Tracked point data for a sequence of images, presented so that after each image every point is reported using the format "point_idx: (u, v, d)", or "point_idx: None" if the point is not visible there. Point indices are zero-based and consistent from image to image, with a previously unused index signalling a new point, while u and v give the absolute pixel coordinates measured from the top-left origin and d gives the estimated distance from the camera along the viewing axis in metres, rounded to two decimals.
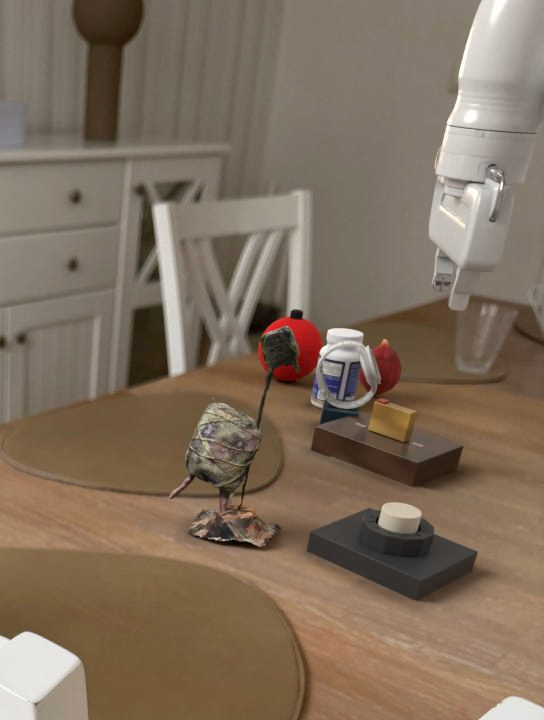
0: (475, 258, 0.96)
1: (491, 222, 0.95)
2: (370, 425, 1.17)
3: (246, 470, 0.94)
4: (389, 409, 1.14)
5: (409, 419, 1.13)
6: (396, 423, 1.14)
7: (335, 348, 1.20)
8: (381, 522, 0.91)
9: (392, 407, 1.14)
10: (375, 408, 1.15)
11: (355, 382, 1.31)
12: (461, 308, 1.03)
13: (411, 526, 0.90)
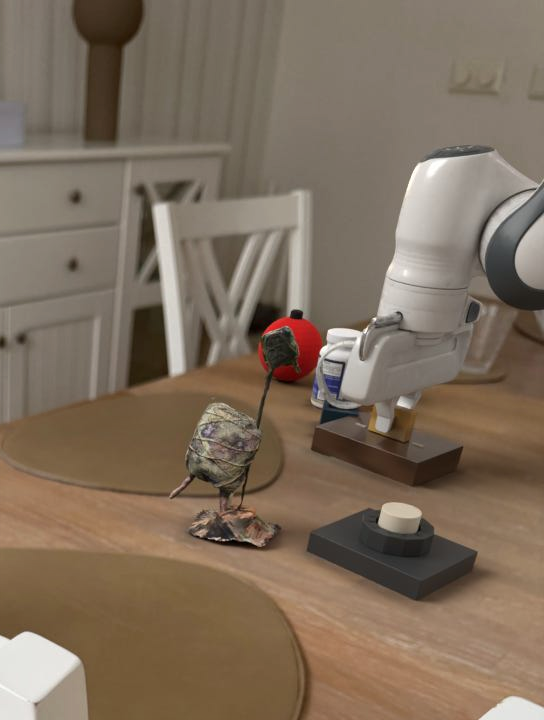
0: (347, 390, 1.07)
1: (361, 361, 1.05)
2: (370, 425, 1.17)
3: (246, 470, 0.94)
4: None
5: (409, 419, 1.13)
6: (396, 423, 1.14)
7: (335, 348, 1.20)
8: (381, 522, 0.91)
9: None
10: (375, 408, 1.15)
11: None
12: (384, 430, 1.14)
13: (411, 526, 0.90)
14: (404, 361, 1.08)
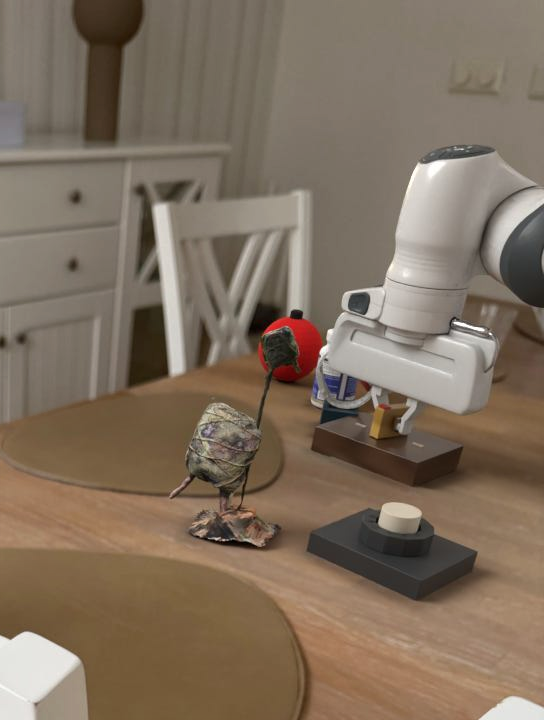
0: (475, 405, 1.05)
1: (485, 373, 1.04)
2: (380, 434, 1.14)
3: (246, 470, 0.94)
4: (397, 411, 1.14)
5: None
6: None
7: None
8: (381, 522, 0.91)
9: (399, 408, 1.14)
10: (384, 416, 1.13)
11: (355, 382, 1.31)
12: (408, 431, 1.14)
13: (411, 526, 0.90)
14: None
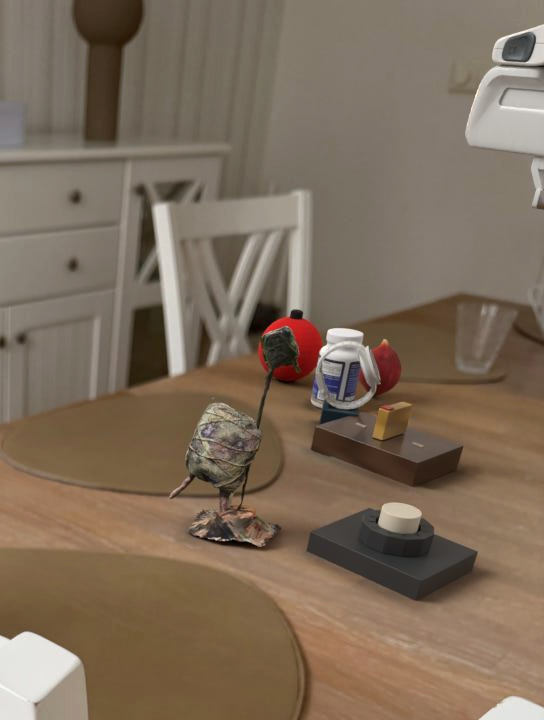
0: None
1: None
2: (384, 435, 1.14)
3: (246, 470, 0.94)
4: (398, 411, 1.14)
5: (410, 410, 1.15)
6: (402, 420, 1.15)
7: (335, 348, 1.20)
8: (381, 522, 0.91)
9: (400, 408, 1.14)
10: (389, 417, 1.13)
11: (355, 382, 1.31)
12: None
13: (411, 526, 0.90)
14: None
